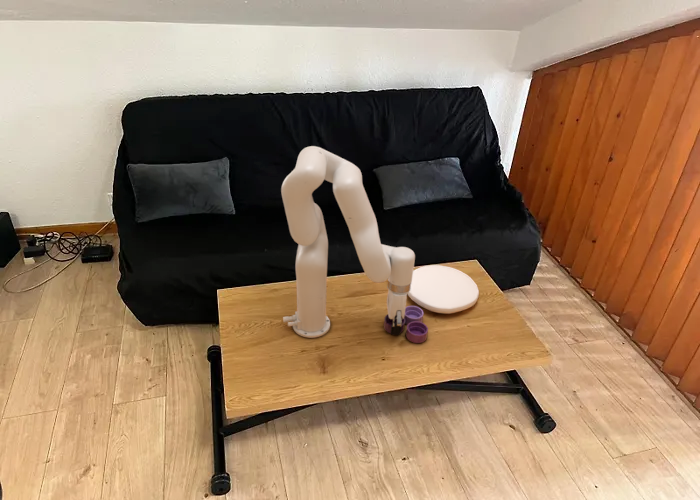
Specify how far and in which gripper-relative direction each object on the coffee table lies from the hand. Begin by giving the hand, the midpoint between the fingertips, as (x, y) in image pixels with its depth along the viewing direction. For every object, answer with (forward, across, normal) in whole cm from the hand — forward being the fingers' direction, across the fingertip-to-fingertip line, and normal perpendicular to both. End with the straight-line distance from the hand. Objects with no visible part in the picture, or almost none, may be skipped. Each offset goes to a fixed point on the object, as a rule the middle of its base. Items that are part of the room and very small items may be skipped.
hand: (394, 325), depth 166 cm
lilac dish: (+1, -4, +7) cm, 8 cm away
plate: (+1, -19, +19) cm, 27 cm away
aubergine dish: (+1, 0, 0) cm, 1 cm away
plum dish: (+1, +4, +7) cm, 8 cm away
